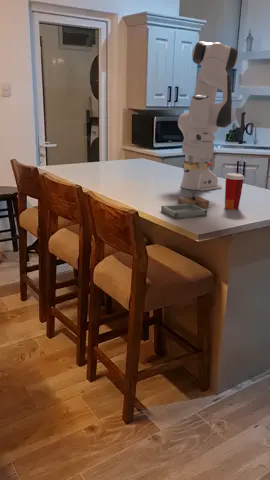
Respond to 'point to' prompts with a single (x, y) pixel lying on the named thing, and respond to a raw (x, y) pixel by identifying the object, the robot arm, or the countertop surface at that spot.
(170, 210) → the tray
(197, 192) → the stake
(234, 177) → the coffee cup
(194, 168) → the ring
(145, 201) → the countertop surface
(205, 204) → the stake base
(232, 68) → the robot arm
